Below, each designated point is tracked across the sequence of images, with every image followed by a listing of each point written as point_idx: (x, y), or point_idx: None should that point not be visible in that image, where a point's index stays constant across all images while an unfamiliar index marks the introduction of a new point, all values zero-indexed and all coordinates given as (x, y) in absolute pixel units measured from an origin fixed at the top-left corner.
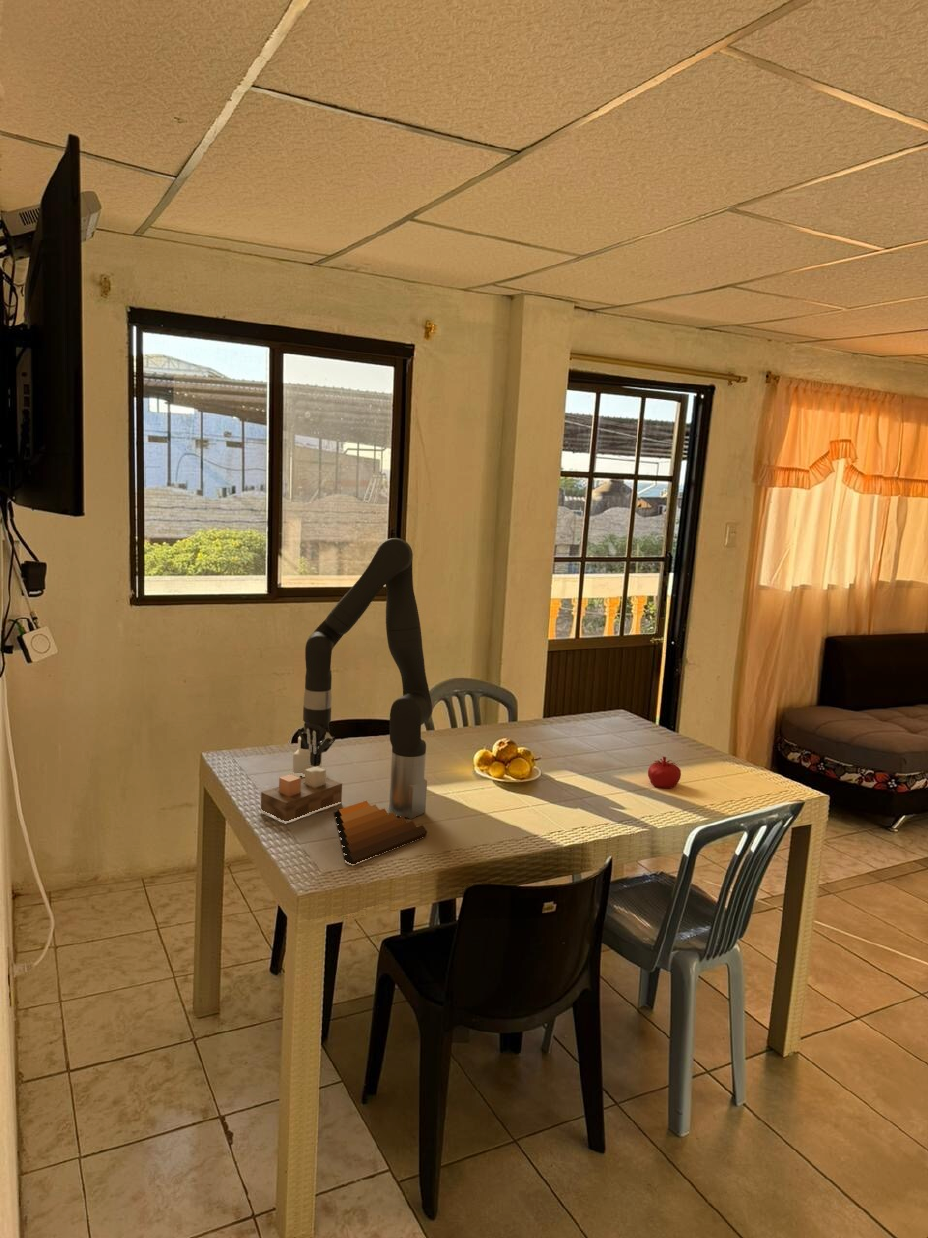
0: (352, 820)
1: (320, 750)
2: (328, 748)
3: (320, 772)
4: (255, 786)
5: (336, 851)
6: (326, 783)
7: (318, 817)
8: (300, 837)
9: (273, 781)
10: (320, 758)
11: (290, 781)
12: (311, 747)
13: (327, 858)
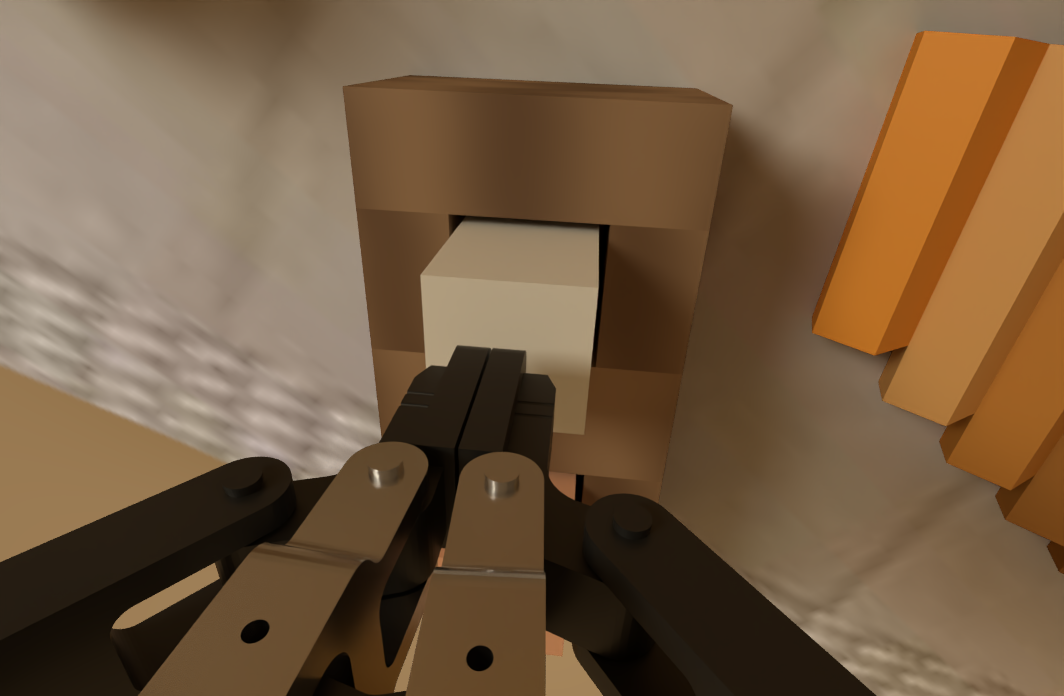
0: (1061, 416)
1: (648, 673)
2: (740, 591)
3: (589, 358)
4: (64, 271)
5: (1043, 585)
6: (602, 221)
7: (709, 365)
8: (786, 570)
9: (18, 123)
10: (551, 434)
11: (562, 647)
12: (402, 636)
13: (1031, 641)
